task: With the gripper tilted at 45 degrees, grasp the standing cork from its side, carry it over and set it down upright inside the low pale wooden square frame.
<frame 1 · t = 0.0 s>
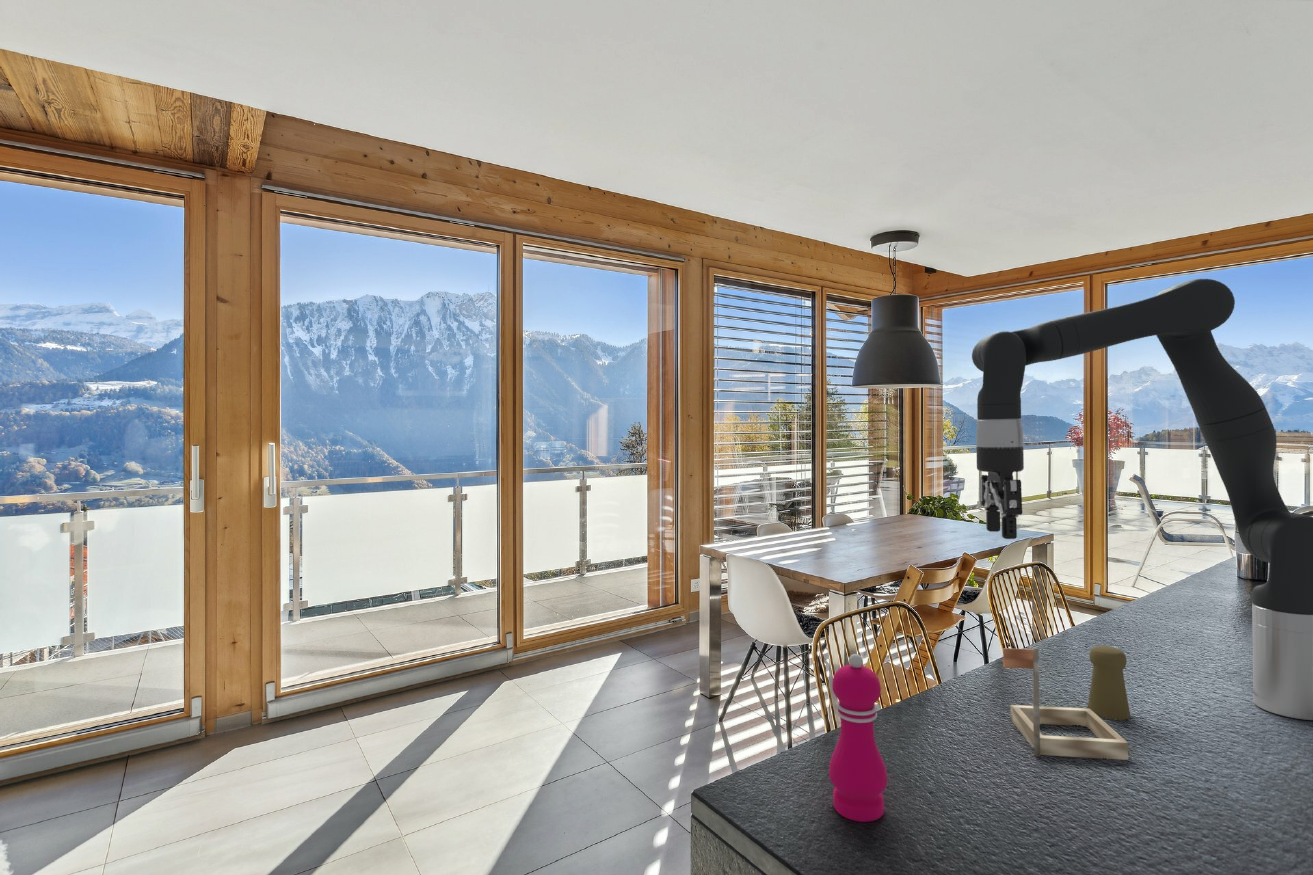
hand: (1001, 534, 120), 29 cm above the counter, tool pointing down, fingers open, 8 cm apart
wooden square frame: (1065, 738, 104), on the counter
cork: (1108, 713, 113), on the counter
pepper mill: (858, 809, 86), on the counter
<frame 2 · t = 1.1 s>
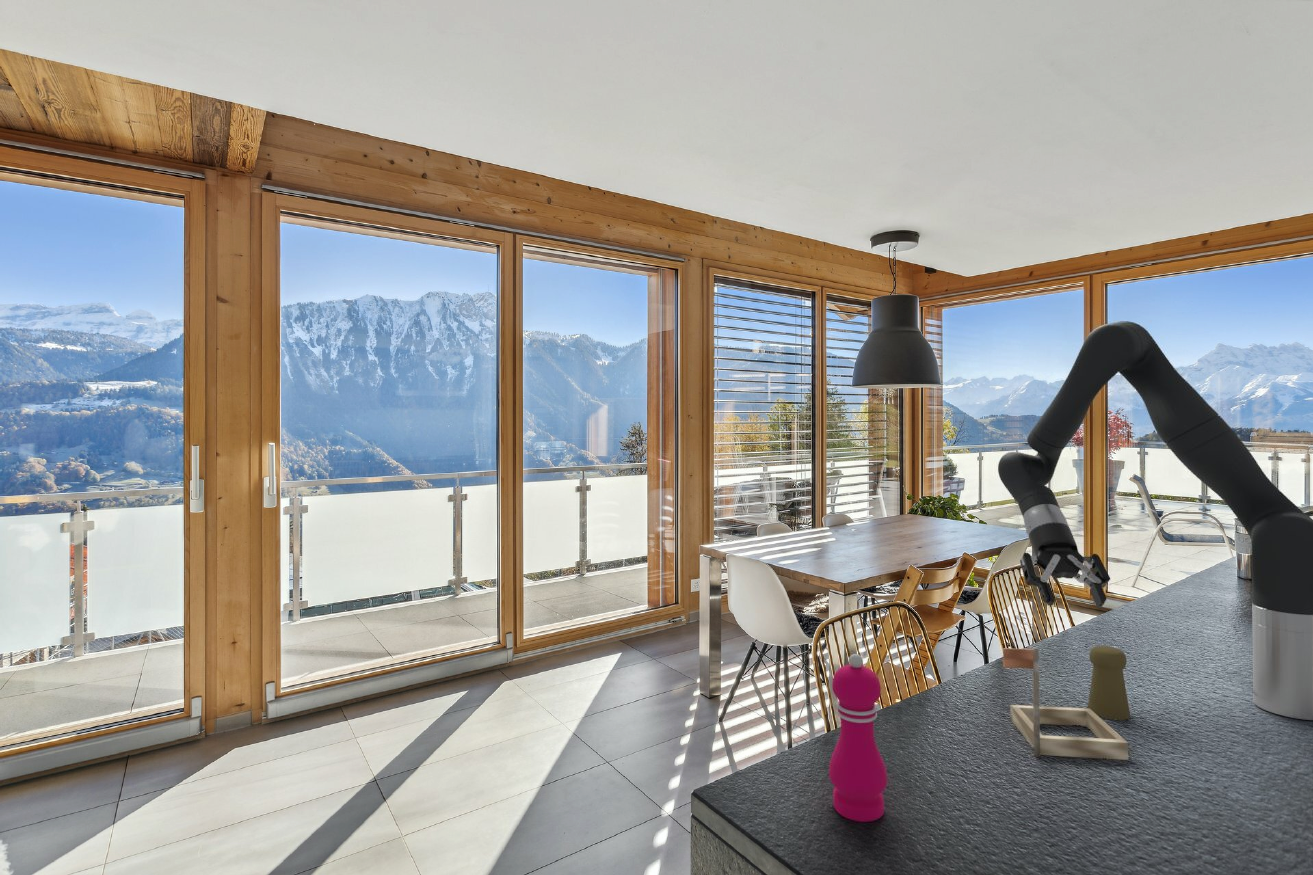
hand: (1076, 604, 124), 15 cm above the counter, tool tilted 45°, fingers open, 8 cm apart
nothing on the counter moved.
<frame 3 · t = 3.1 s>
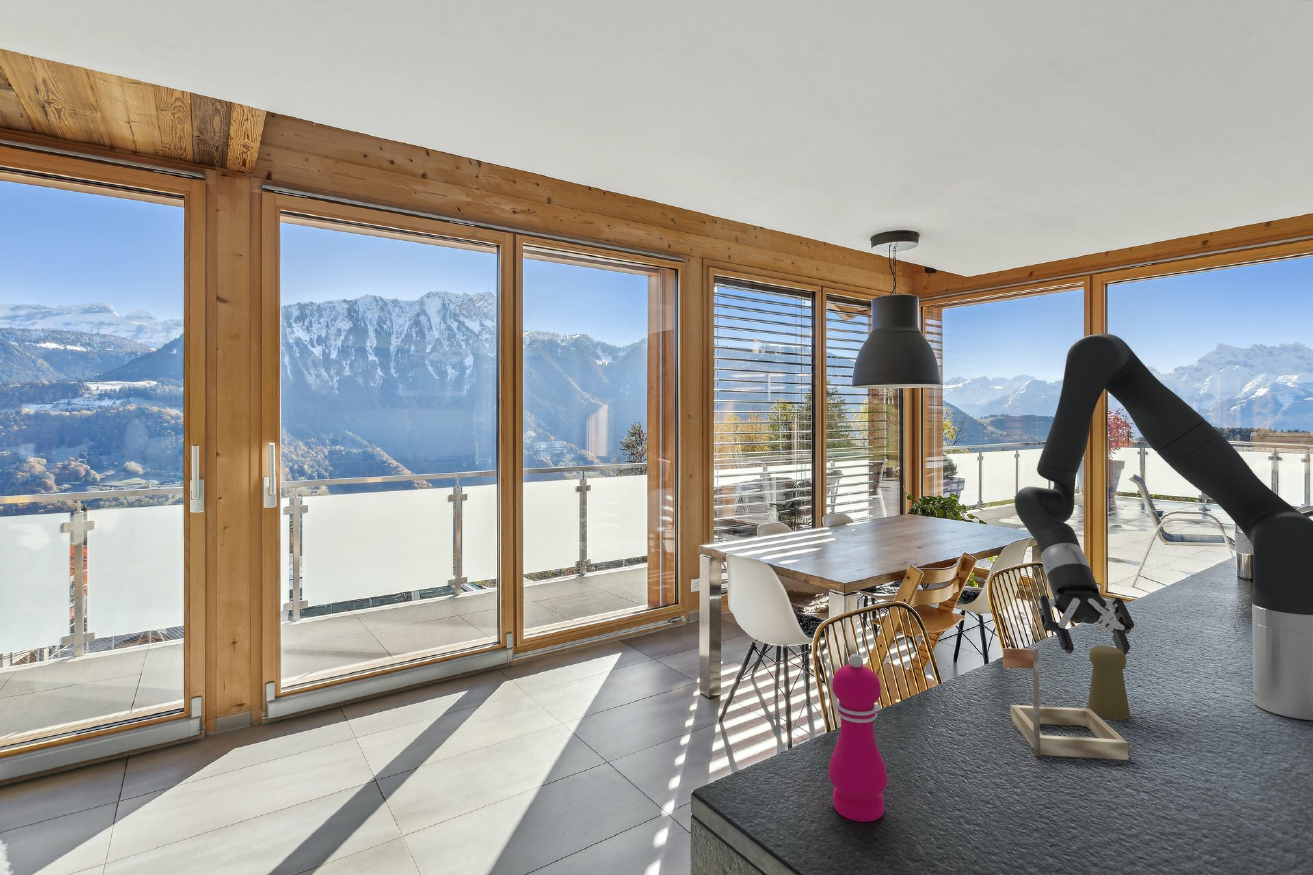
hand: (1097, 652, 116), 9 cm above the counter, tool tilted 45°, fingers open, 8 cm apart
nothing on the counter moved.
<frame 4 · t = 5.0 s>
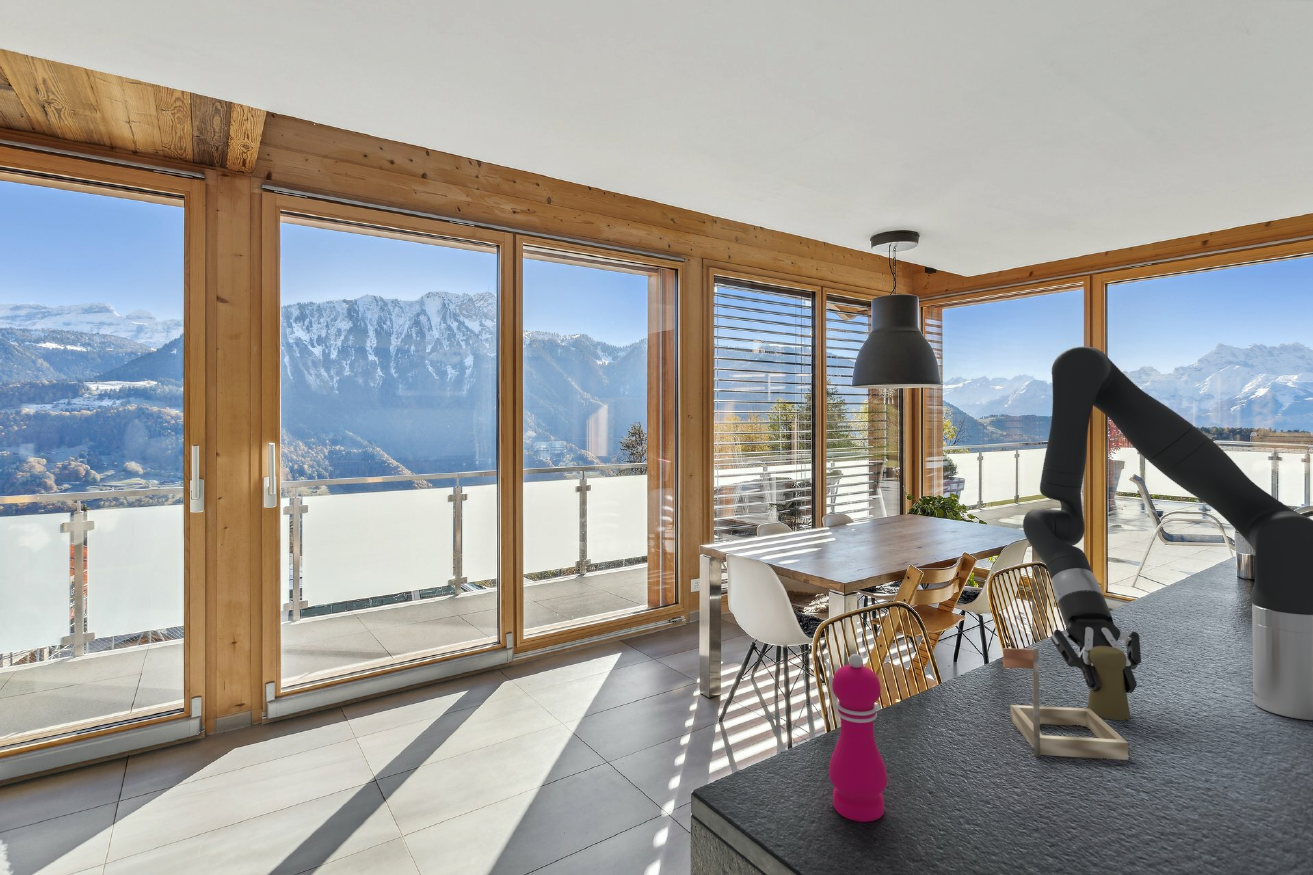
hand: (1113, 689, 111), 5 cm above the counter, tool tilted 45°, fingers closed on cork, 4 cm apart
cork: (1108, 713, 113), on the counter, touching gripper
everything else where it was.
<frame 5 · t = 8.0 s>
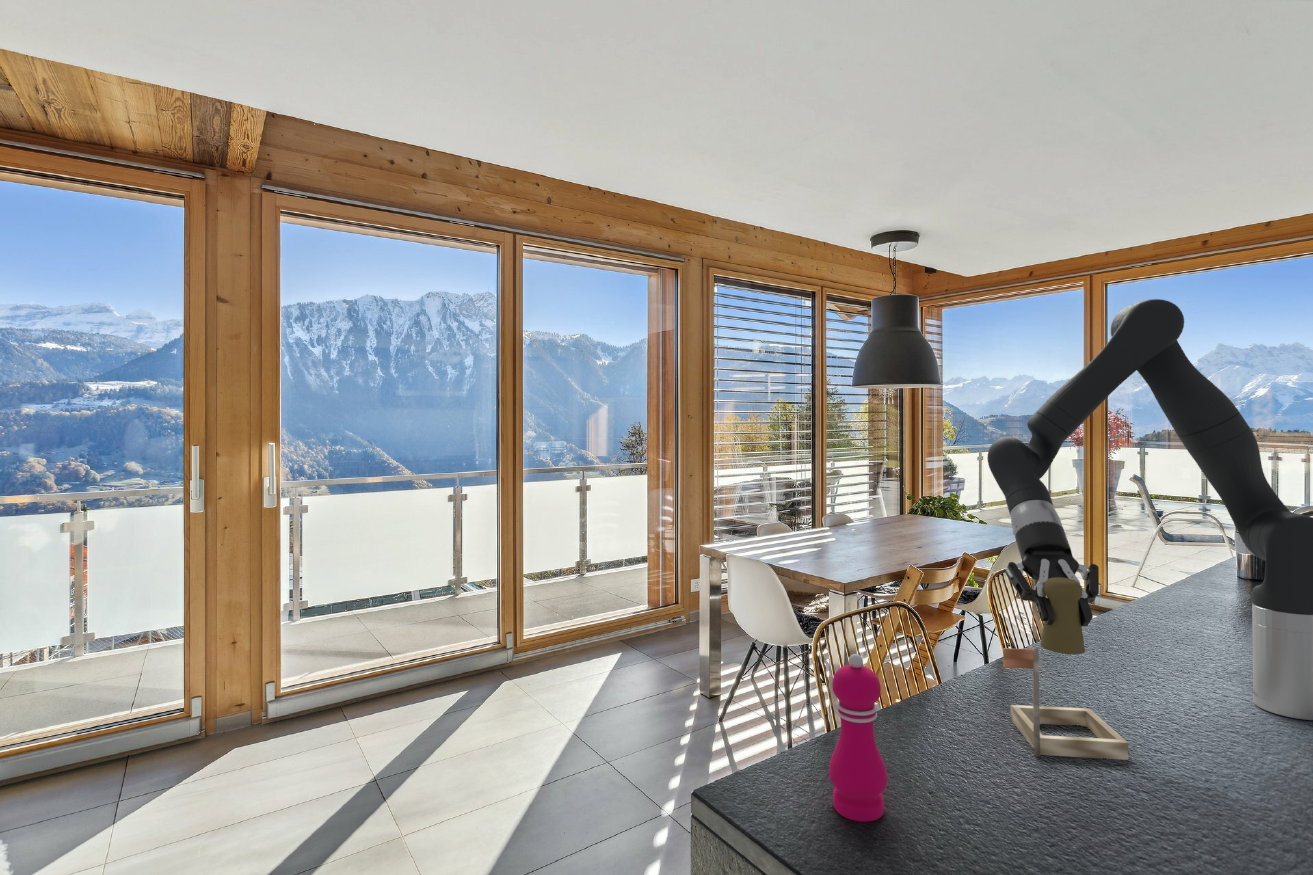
hand: (1068, 622, 103), 18 cm above the counter, tool tilted 45°, fingers closed on cork, 4 cm apart
cork: (1062, 649, 105), point 13 cm above the counter, touching gripper
everything else where it was.
when the fingers open (6 cm above the counter, at t = 10.9 s): cork drops 1 cm, resting in wooden square frame.
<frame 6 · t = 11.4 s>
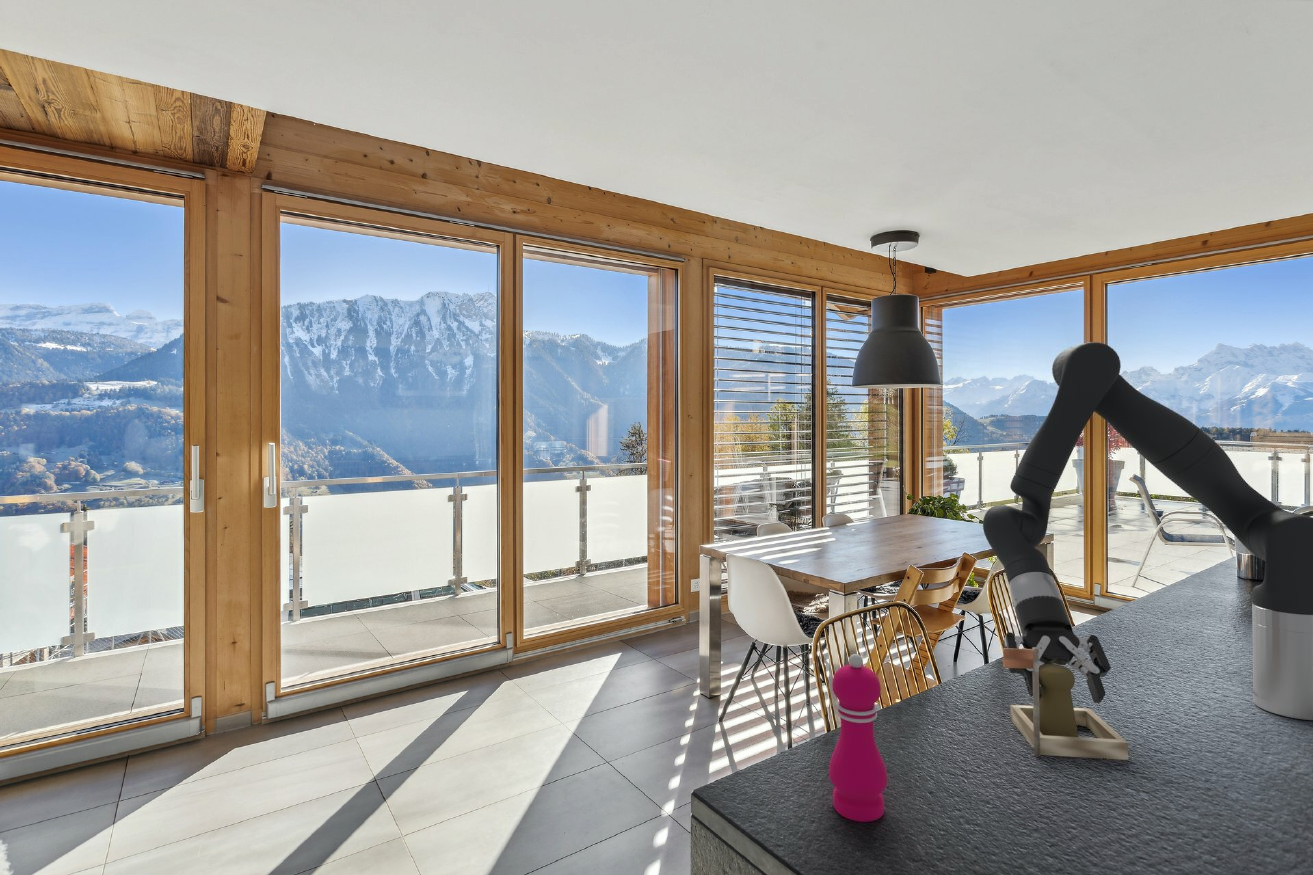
hand: (1068, 699, 102), 7 cm above the counter, tool tilted 45°, fingers open, 8 cm apart
cork: (1056, 737, 105), resting in wooden square frame
everything else where it was.
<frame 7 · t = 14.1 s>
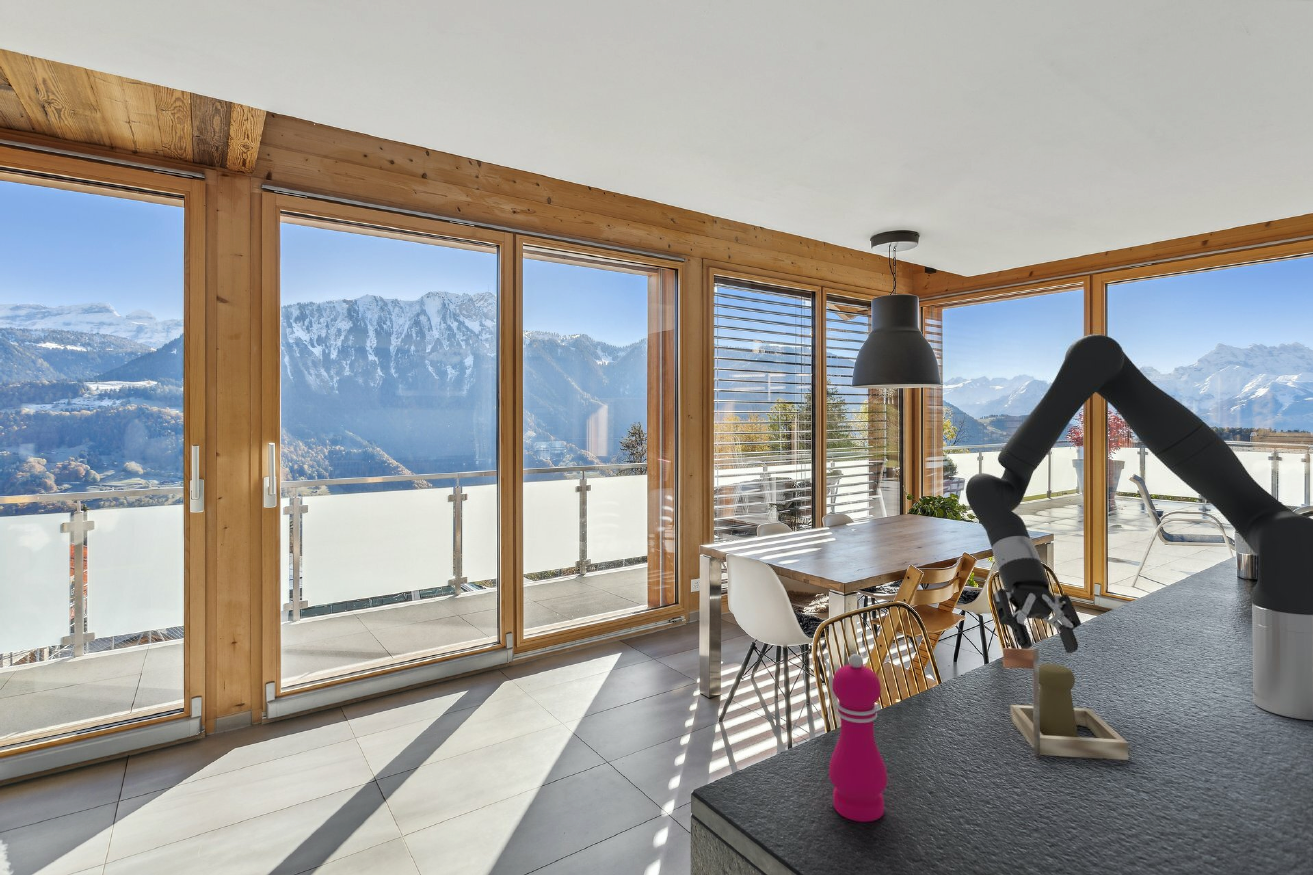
hand: (1050, 649, 116), 10 cm above the counter, tool tilted 40°, fingers open, 8 cm apart
nothing on the counter moved.
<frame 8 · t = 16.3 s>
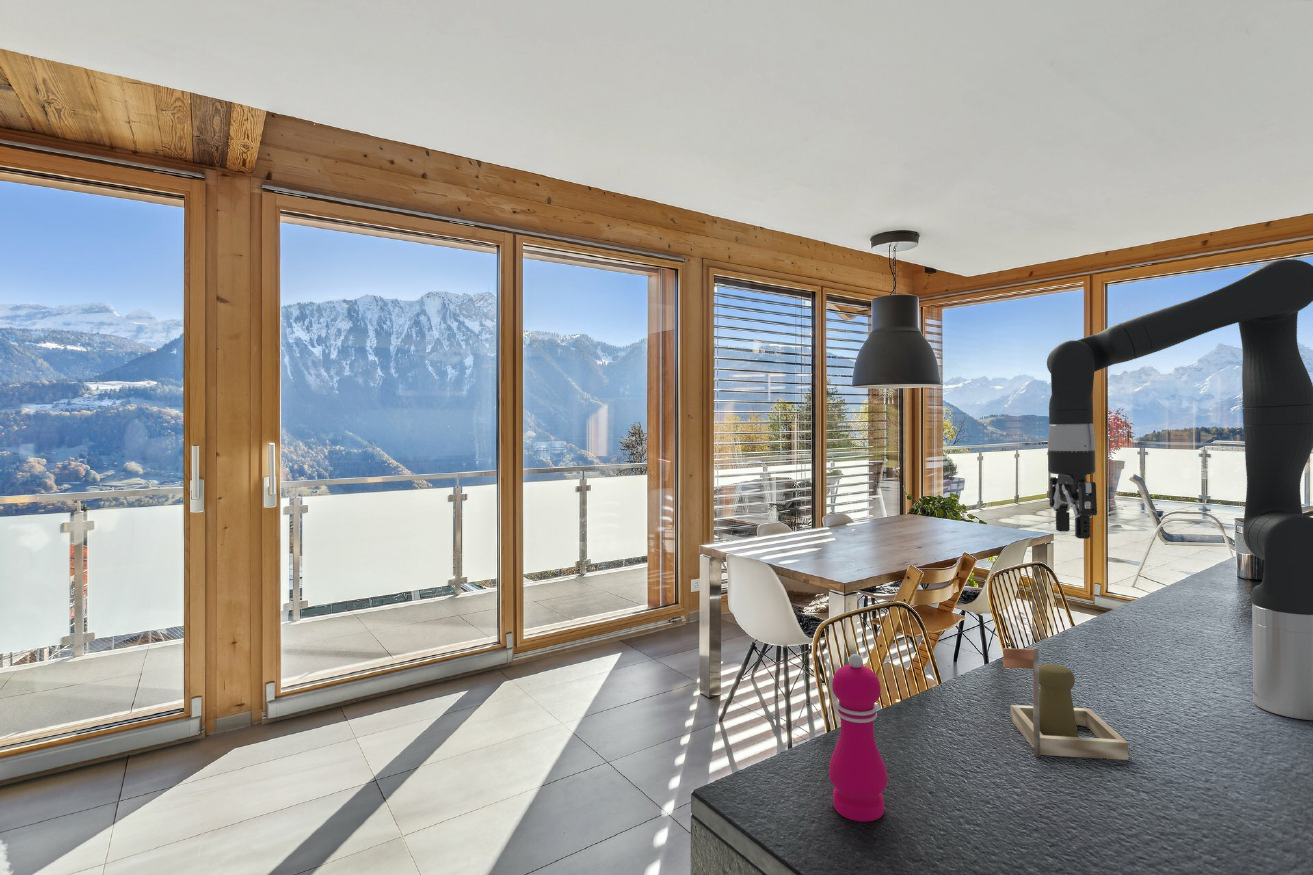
hand: (1072, 534, 125), 28 cm above the counter, tool pointing down, fingers open, 8 cm apart
nothing on the counter moved.
at the end: cork 1.3 cm off-centre on the wooden square frame, point 0.0 cm above the wooden square frame's base; cork tilted 0°; the gripper is holding nothing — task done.
